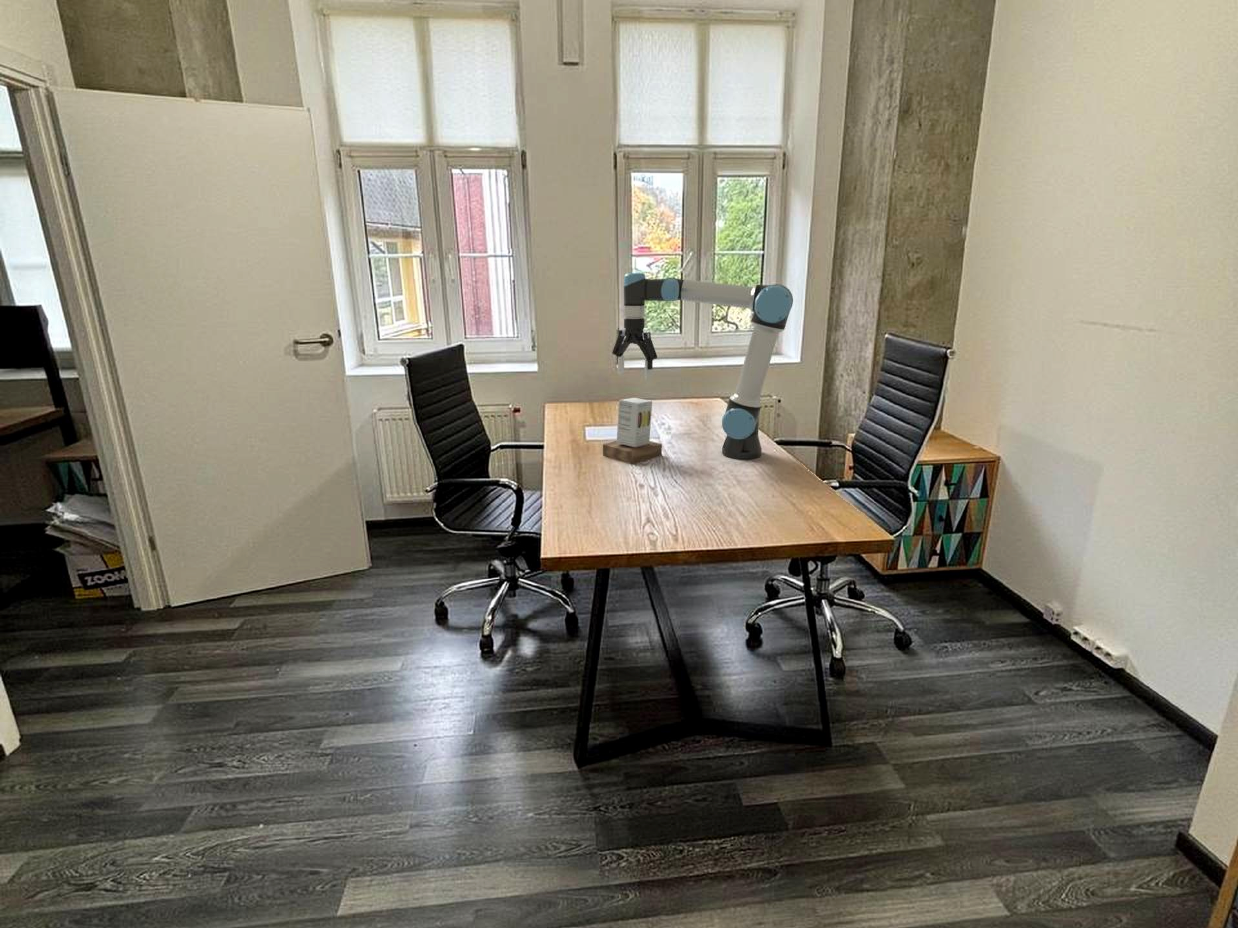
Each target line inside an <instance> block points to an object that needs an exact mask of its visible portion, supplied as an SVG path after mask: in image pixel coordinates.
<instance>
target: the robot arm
mask: <svg viewBox="0 0 1238 928" xmlns="http://www.w3.org/2000/svg"><path fill="white" fill-rule="evenodd" d="M623 279H624V281H623V317H624V319H623V328H624V329H619V330H618V334H617V335H618V336H617V338H616V341H615V344H614V346H613V350H612V352H611V353H612V355H615V356H616V365H617V375H623V374H625V355H624V354H625V352H626V350H627V349H628V347H629V345H630V344H631V345H632V344H633V345H637V346H638V348H639V349H640V350H641V352H642V354H643V355H644V357H645V360H644V379H645V380H647V379H651V378H652V370H653V367H654V366H653V365H654V364H653V361H654V360H656V359H658V355H657V352H656V349H655V347H654V343H653V340H652V337H651V332H650V331H646V332H644V330H645V328H646V327H645V324H646V321H645V320H646V319H645V318H644V317H645V316H646V315H645V314H646V313H645V312H646V310H645V309H646V302H647V301H648V302H649V301H650V302H653V301H654V302H667V303H668V302H676V301H684V302H692V303H693V302H694V303H703V304H708V305H718V306H727V307H733V308H743V309H748V310H750V311H751V312H752V316H751V320H750V323H751V324H752V326H753V330H752V333H751V336H750V340H749V344H748V347H747V352H746V355H745V358H744V361H743V365H742V368H741V371H740V374H739V378H738V382H737V386H736V389H735V392H734V394H732V395H730V396H729V399H728V402H727V406H726V409H725V412H724V414H723V416H722V418H721V426H722V427H721V428H722V429H723V432H724V433H725V434H726V437H725V439H724V442H723V445H722V448H721V454H722V455H723V456H725V457H727V458H729V459H730V458H731V459H736V460H752V459H753V460H754V459H757V458H760V457H761V456H762V452H763V450H762V445H761V441H760V437H759V426H760V415H761V409H762V403H761V398H760V396H761V393H762V391H763V388H764V387H763V386H764V383H765V380H766V377H767V373H768V370H769V366H770V363H771V360H772V357H773V354H774V349H775V347H776V343H777V339H778V337H779V334H780V333H781V332H784V331H785V329H786V326H787V323H788V319H789V315H790V312H791V310H792V307H793V303H794V297H793V294H792V292H791V289H789V288H788V287H787V286H785V285H783V284H779V283H777V284H776V283H775V284H754V285H753V286H748V285H747V286H746V285H739V284H728V283H720V282H710V281H700V280H692V279H691V280H690V279H682V278H676V277H667V278H651V279H650V278H646V275H645V273H643V272H642V273H639V272H633V273H632V272H631V273H630V272H629V273H625V275H624V277H623Z"/></svg>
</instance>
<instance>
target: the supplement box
mask: <svg viewBox="0 0 1238 928" xmlns="http://www.w3.org/2000/svg"><path fill="white" fill-rule="evenodd" d="M652 409H653V400H649V399H644V398H637V397H631V398H623V399H619V400H618V410H617V411H618V412H617V413H618V414H617V431H616V441H617V443H619V444H623V445H627V446H631V447H638V446H642V445H646V444H649V441H650V438H651V424H652V423H651V422H652Z"/></svg>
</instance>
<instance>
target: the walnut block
mask: <svg viewBox="0 0 1238 928" xmlns="http://www.w3.org/2000/svg"><path fill="white" fill-rule="evenodd" d="M662 447H663V444H662V443H660V442H659V443H658V442H655V441H651V440H649V444H646V445H642V446H638V447H631V446H627V445H623V444H619V443H617V440H614V441H611V442H607V443H603V444H602V456H603V457H606V458H610V459H614V460H617V461H621V462H624V463H628V464H630V465H635V464H639V463H642V462H645V461H648V460H651V459H654V458H658V457H660V456H662V452H663V451H662V450H663V449H662Z"/></svg>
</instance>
